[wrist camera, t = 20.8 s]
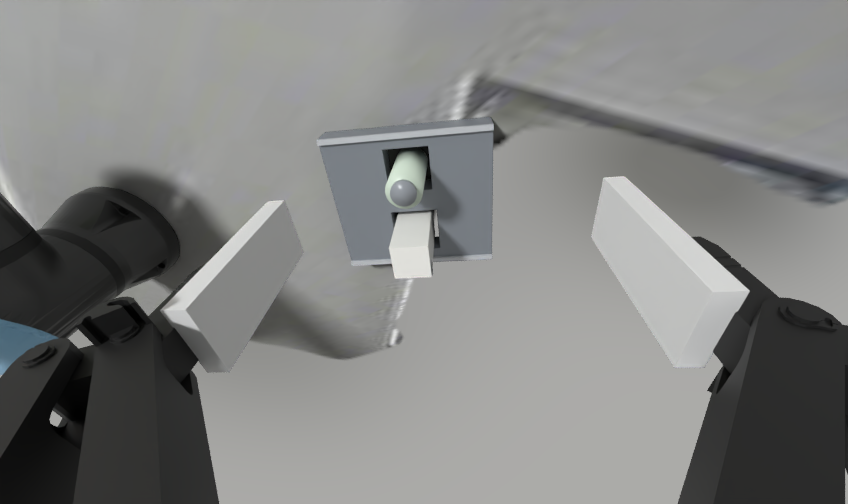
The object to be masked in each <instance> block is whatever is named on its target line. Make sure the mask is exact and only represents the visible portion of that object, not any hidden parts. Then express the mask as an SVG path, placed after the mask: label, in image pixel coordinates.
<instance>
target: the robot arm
mask: <svg viewBox="0 0 848 504" xmlns="http://www.w3.org/2000/svg"><path fill="white" fill-rule="evenodd" d="M591 238H592V240H593V241H594V243H595V244H596V246H597V247H598V249H599V251H600V252H601V254H602V255H603V257H604V259H605V260H606V262H607V263H608V265H609V266H610V268H611V269H612V271H613V273H614V274H615V276H616V277H617V278H618V280H619V282H620V283H621V285H622V287H623V288H624V290H625V291H626V293H627V295H628V296H629V298H630V299H631V301H632V302H633V304H634V306H635V307H636V309H637V310H638V312H639V313H640V315H641V316H642V318H643V320H644V321H645V323H646V324H647V326H648V327H649V329H650V331H651V332H652V334H653V335H654V337H655V338H656V340H657V342H658V343H659V345H660V346H661V348H662V349H663V351H664V353H665V354H666V356H667V357H668V359H669V360H670V362H671V363H672V365H673V366H674V368H701V367H703V368H704V367H705V366H706V364H707V363H708V361H709V359H710V358H711V356H712V354H713V353H714V354H715V355H716V356H717V357H718V359H719V360H720V361H721V363H723V367H722V368H721V370H720V371H719V373H718V375H717V376H716V377H715V379H714V381H713V382H712V384H711V386H710V387H709V388H708V390H707V391H710V392H711V393H712V395H711V398H710V401H709V404H708V408H707V411H706V414H705V417H704V420H703V424H702V427H701V430H700V433H699V437H698V440H697V443H696V447H695V450H694V453H693V456H692V459H691V463H690V466H689V469H688V472H687V475H686V479H685V482H684V485H683V488H682V491H681V495H680V498H679V501H678V504H845V468H846V470H847V473H848V326H846V325H842V324H841V323H840V322H839V321H838V320H837V319H836V318H835V317H834V316H833V315H831V314H829V313H828V312H826V311H824V310H823V309H821V308H819V307H817V306H814V305H811V304H809V303H806V302H804V301H799V300H795V299H790V298H779V297H778V296H777V295H776V294H774V293H773V292H772V291H771V290H770V289H768V288H767V287H766V286H765V285H764V284H763V283H762V282H760V281H759V280H758V279H757V278H756V277H755V276H753V275H752V274H751V273H750V272H749V271H748V270H746V269H745V268H744V267H741V265H740V264H739V263H738V262H737V261H736V260H735V259H733V258H731V256H730V255H729V254H728V253H726V252H725V251H724V250H723V249H722V248H721V247H719V246H718V245H716V244H714V243H712V242H710V241H708V240H706V239H704V238H702V237H690V236H689V235H688V234H687V233H686V232H685V231H684V230H683V229H682V228H681V227H679V226H678V225H677V224H676V223H675V222H674V221H673V220H672V219H671V218H670V217H668V216H667V215H666V214H665V213H664V212H663V211H662V210H661V209H660V208H659V207H658V206H656V205H655V204H654V203H653V202H652V201H651V200H650V199H649V198H648V197H647V196H645V195H644V194H643V193H642V192H641V191H640V190H639V189H638V188H637V187H636V186H635V185H634V184H632V183H631V182H630V181H629V180H628V179H627V178H626V177H625V176H621V177H607V178H604V179H603V183H602V188H601V193H600V197H599V202H598V207H597V212H596V216H595V221H594V226H593V231H592V235H591ZM179 252H180V249H179V243H178V239H177V237H176V235H175V233H174V231H173V229H172V228H171V226H170V225H169V224H168V222H167V221H166V220H165V219H164V218H163V217H162V216H161V215H160V214H159V213H158V212H157V211H156V210H155V209H154V208H152V207H151V206H150V205H148V204H147V203H145V202H144V201H142V200H141V199H139V198H137V197H135V196H133V195H131V194H129V193H126V192H124V191H121V190H117V189H113V188H108V187H92V188H88V189H86V190H83V191H81V192H79V193H77V194H75V195H73V196H71V197H70V198H68V199H67V200H66V201H65V202H64V203H63V204H62V205H61V206H60V207H59V209H58V210H57V211H56V212H55V213H54V214H53V215H52V216H51V218H50V219H49V220H48V221H47V222H46V223H45V224H44V226H43V227H42V228H41V229H39V230H37V231H35V230H34V229H33V227H32V226H31V225H30V224H29V223H28V222H27V221H26V220H25V219H24V218H23V217H22V215H21V214H20V213H19V212H18V211H17V210H16V209H15V208H14V207H13V206H12V205H11V204H10V203H9V202H8V200H7V199H6V198H5V197H4V196H3V195H2V194H1V193H0V375H2V377H1V378H0V504H219V501H218V495H217V489H216V484H215V478H214V472H213V467H212V461H211V456H210V450H209V445H208V439H207V434H206V428H205V422H204V417H203V411H202V406H201V400H200V394H199V389H198V383H197V378H196V376H195V374H194V373H193V372H192V371H191V370H192V368H193V366H195V364H196V363H197V361H199V362H200V364H201V365H202V366H203V367H204V369H205V370H206V371H207V372H230V371H231V369H232V367H233V366H234V364H235V363H236V361H237V359H238V358H239V356H240V354H241V353H242V351H243V350H244V348H245V346H246V345H247V343H248V342H249V340H250V338H251V337H252V335H253V334H254V332H255V330H256V329H257V327H258V326H259V324H260V322H261V321H262V319H263V317H264V316H265V314H266V313H267V311H268V309H269V308H270V306H271V305H272V303H273V301H274V300H275V298H276V297H277V295H278V293H279V292H280V290H281V289H282V287H283V285H284V284H285V282H286V280H287V279H288V277H289V276H290V274H291V272H292V271H293V269H294V268H295V266H296V264H297V263H298V261H299V260H300V258H301V256H302V255H303V253H304V251H303V248H302V246H301V243H300V240H299V238H298V235H297V232H296V230H295V227H294V224H293V222H292V219H291V216H290V214H289V211H288V208H287V206H286V203H285V200H281V201H268V202H267V203H266V204H265V205H264V206H263V207H262V208H261V209H260V210H259V211H258V212H257V213H256V214H255V215H254V216H253V217H252V218H251V219H250V220H249V221H248V222H247V223H246V224H245V225H244V226H243V227H242V228H241V229H240V230H239V231H238V232H237V233H236V234H235V235H234V236H233V237H232V238H231V239H230V240H229V241H228V242H227V243H226V244H225V245H224V246H223V247H222V248H221V249H220V250H219V251H218V252H217V253H216V254H215V255H214V256H213V257H212V258H211V259H210V260H209V261H208V262H207V263H206V264H204V265H203V266H201V267H200V268H198V269H197V270H195V271H194V272H193V273H192V274H191V275H190V276H189V277H188V278H187V279H186V280H185V281H184V283H182V284H181V285H180V286H179V287H178V288H177V289H176V291H174V292H173V293H172V294H171V295H170V296H169V297H168V298H167V299H166V300H165V301H163V302H162V303H161V304H160V305H159V306H158V307H157V308H156V309H155V310H154V311H153V312H152V313H151V314H150V315H149V316H147V315H146V313H145V312H144V311H143V310H142V308H141V307H140V306H139V305H138V303H137V302H136V301H135V300H134V298H131V297H120V298H116V297H117V296H118V295H119V294H120V293H122V292H123V291H124V290H126V289H129V288H131V287H134V286H136V285H138V284H141V283H143V282H146V281H148V280H150V279H153V278H155V277H158V276H160V275H161V274H163V273H164V272H166V271H167V270H168V269H169V268H170V267H171V266H172V265H174V264H175V262H176V261H177V259H178V257H179ZM114 298H116V299H114ZM78 329H79V330H80V331H81V332H82V333H83V334H84V335H85V336H86V337H87V338H88V339H89V340H90V341H91V342H92V343H93V344H94V345H91V346H87V347H83V348H80V349H78V348H77V347H76V346H75V345H74V344H73V343H72V342H71V341H70V340H69V339H68V338H69V337H70V336H71V335H72V334H73V333H75V332H76V331H77V330H78ZM52 410H53V411H54V412H56V413H57V414H58V415H60V416H61V417H62V420H61V422H60V424H59V426H58V427H56V426H53V425H52V424H50V420H49V419H50V415H51V412H52Z"/></svg>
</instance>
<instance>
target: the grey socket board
mask: <svg viewBox="0 0 848 504" xmlns="http://www.w3.org/2000/svg"><path fill="white" fill-rule="evenodd" d="M493 130H494V124H493V122H492V119H491V117H483V118H473V119H462V120H451V121H441V122H430V123H419V124H409V125H398V126H387V127H377V128H366V129H355V130H345V131H334V132H325V133H324V134H323V135H322V136H321V137H320V138H319V139H317V140H316V142H317V145H318V146H319V147H320V151H321V155H322V158H323V162H324V165H325V169H326V172H327V176H328V179H329V183H330V186H331V190H332V193H333V197H334V200H335V204H336V208H337V211H338V215H339V218H340V222H341V225H342V229H343V232H344V236H345V239H346V243H347V246H348V250H349V253H350V257H351V265H352V266H356V265H378V264H392V261H391V256H390V251H389V246H390V242H391V238H392V234H393V231H394V227H395V223H396V219H397V217H396V212H406V211H422V210H437V217H438V228H439V237H435V239H434V253H433V262H441V261H464V260H486V259H492V195H493V192H492V191H493ZM420 146H428V149H429V159H430V169H431V179H432V180H425V184H424V190H423V196H422V199H421V201H420V202H419V204H417V205H416V206H415V207H413V208H409V209H401V208H398V207H395V206H394V205H392V204H391V203H390V202H389V201H388V199H387V197H386V194H385V186H386V184H387V181H388V178H389V176H390V173H391V169H390V163H389V157H388V151H387V149H397V148H408V147H420Z"/></svg>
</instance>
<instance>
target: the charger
mask: <svg viewBox="0 0 848 504" xmlns="http://www.w3.org/2000/svg"><path fill="white" fill-rule="evenodd" d="M434 239H435V230H434V220H433V210H422V211H406V212H398V216H397V219H396V223H395V227H394V231H393V234H392V238H391V242H390V246H389V251H390V256H391V261H392V266H393V271H394V276H395V279H398V278H419V277H432V274H433V269H432V266H433V253H434Z"/></svg>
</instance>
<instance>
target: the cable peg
mask: <svg viewBox="0 0 848 504" xmlns="http://www.w3.org/2000/svg"><path fill="white" fill-rule="evenodd" d="M427 165H428V159H427V156H426V154H425V152H424V151H423V150H422V149H420V148H419V147H408V148H403V149H401V150H400V152H399V153H398V155H397V158H396V160H395V163H394V165H393V168H392V171H391V173H390V176H389V178H388V181H387V184H386V186H385V194H386V197H387V199H388V201H389V202H390V203H391V204H392V205H394V206H395V207H398V208H401V209H409V208H413V207H415V206H416V205H417V204H419V202H420V201H421V199H422V196H423V190H424V184H425V178H426V171H427Z"/></svg>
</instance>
